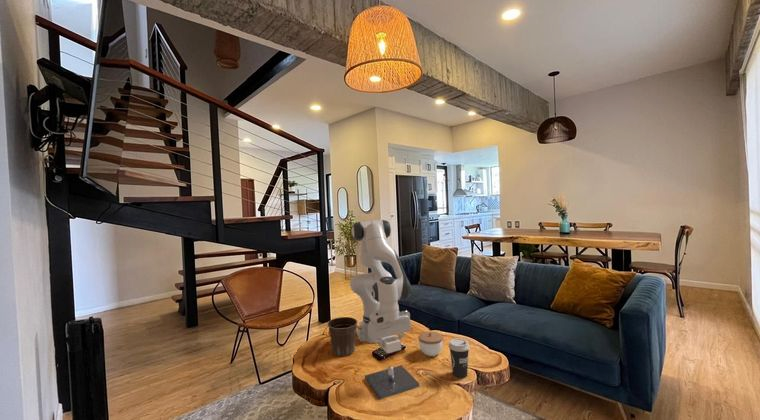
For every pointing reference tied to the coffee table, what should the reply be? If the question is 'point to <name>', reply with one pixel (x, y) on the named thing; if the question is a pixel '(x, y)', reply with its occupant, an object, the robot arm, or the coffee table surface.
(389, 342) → the collar
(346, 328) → the plant pot
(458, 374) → the coffee cup
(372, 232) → the robot arm
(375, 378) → the base plate
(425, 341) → the lidded bowl
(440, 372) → the coffee table surface
